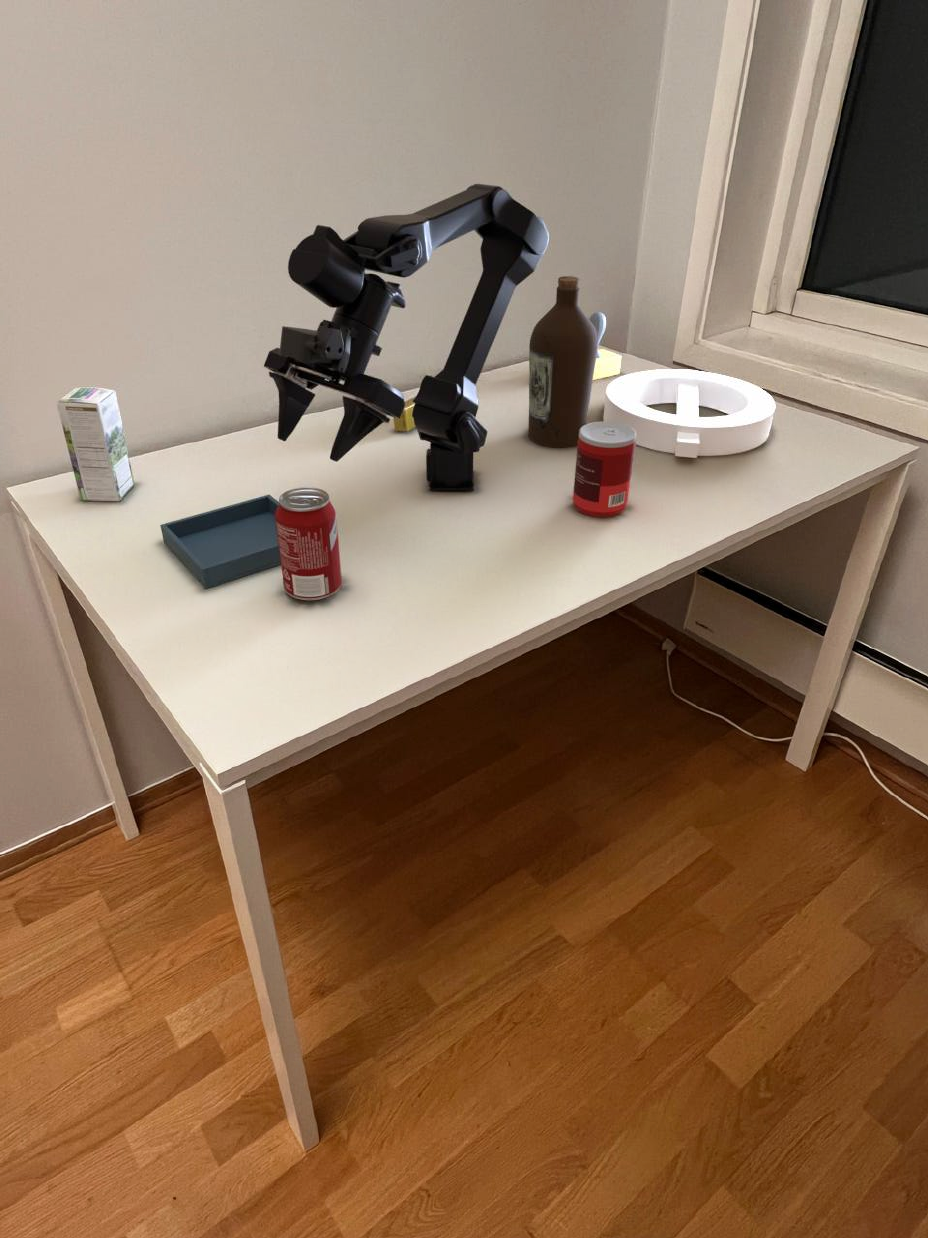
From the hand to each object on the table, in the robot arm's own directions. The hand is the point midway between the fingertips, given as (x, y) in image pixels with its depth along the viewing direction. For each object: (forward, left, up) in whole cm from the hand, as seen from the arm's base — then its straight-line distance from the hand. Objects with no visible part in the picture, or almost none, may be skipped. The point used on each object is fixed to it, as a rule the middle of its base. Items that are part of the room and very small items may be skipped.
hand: (306, 449), depth 100 cm
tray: (+10, 0, -14) cm, 17 cm away
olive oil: (-34, -39, -14) cm, 53 cm away
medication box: (-11, -45, -14) cm, 48 cm away
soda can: (-1, +9, -14) cm, 17 cm away
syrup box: (+32, -16, -14) cm, 38 cm away
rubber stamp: (-44, -71, -14) cm, 84 cm away
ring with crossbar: (-57, -46, -14) cm, 74 cm away
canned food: (-38, -14, -14) cm, 43 cm away
